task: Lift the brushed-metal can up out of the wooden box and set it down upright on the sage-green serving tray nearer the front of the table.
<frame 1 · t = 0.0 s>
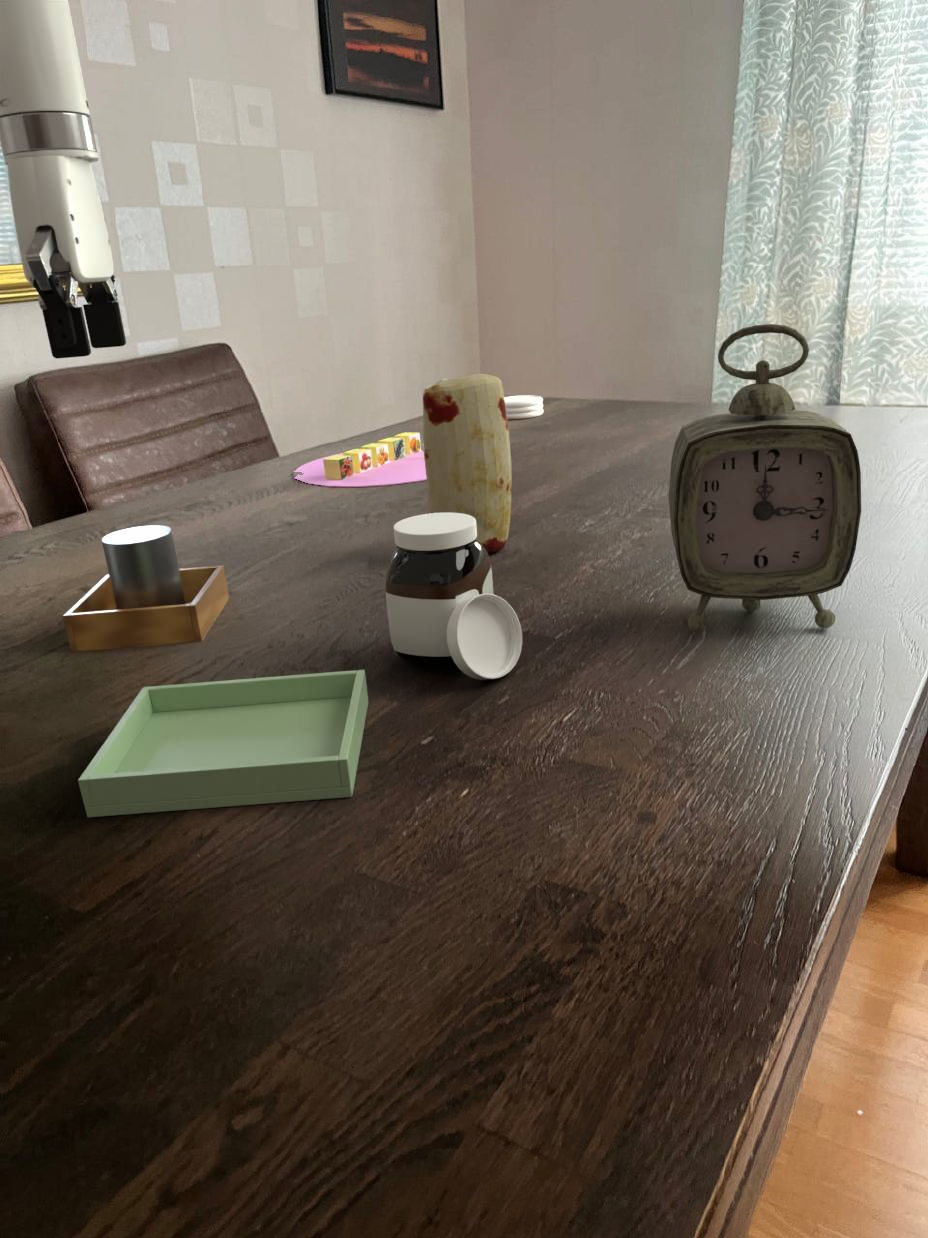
hand: (91, 351, 88), 26 cm above the table, tool pointing down, fingers open, 9 cm apart
platter: (388, 465, 162), on the table
white short ridged cylinder: (519, 416, 200), on the table
food model: (474, 554, 111), on the table
can: (154, 622, 95), point 1 cm above the table, touching wooden box
wooden box: (156, 628, 95), on the table
spread jar: (461, 661, 82), on the table
tray: (241, 754, 69), on the table
tabletop clock: (754, 621, 85), on the table
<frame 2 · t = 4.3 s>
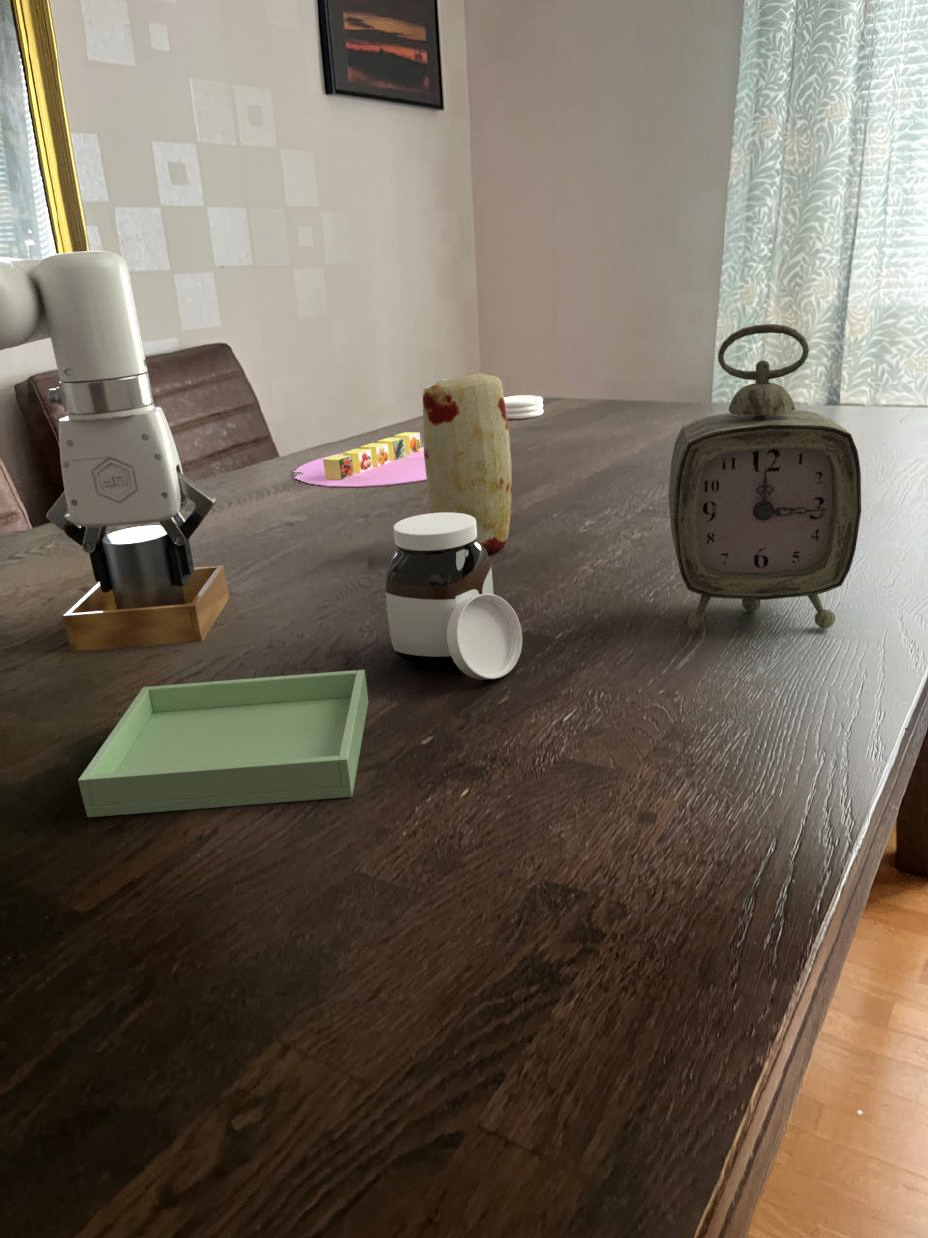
hand: (146, 583, 94), 5 cm above the table, tool pointing down, fingers closed on can, 6 cm apart
can: (154, 622, 95), point 1 cm above the table, touching wooden box, gripper
everything else where it was.
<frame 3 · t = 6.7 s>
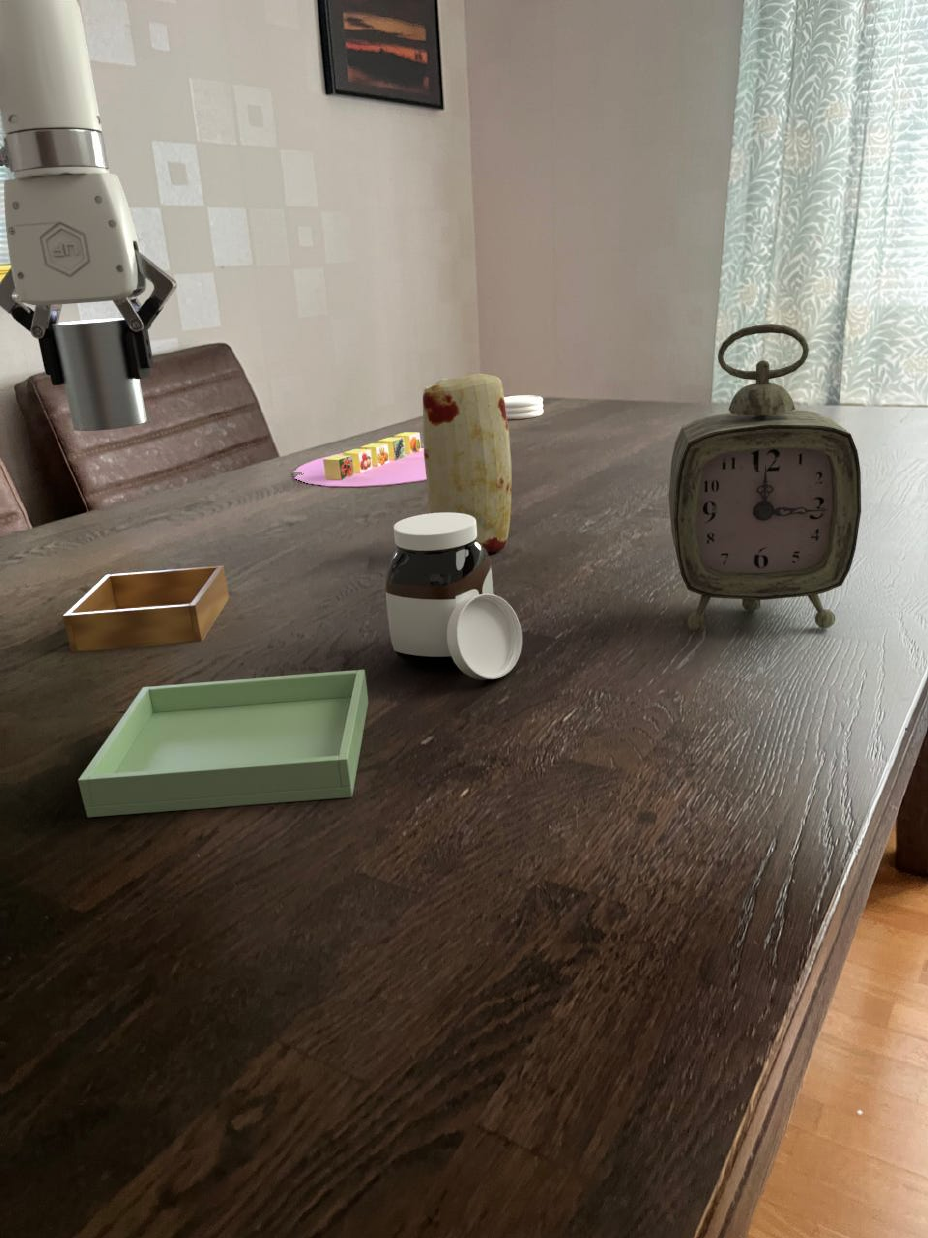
hand: (101, 378, 86), 24 cm above the table, tool pointing down, fingers closed on can, 6 cm apart
can: (110, 424, 88), point 20 cm above the table, touching gripper
everything else where it was.
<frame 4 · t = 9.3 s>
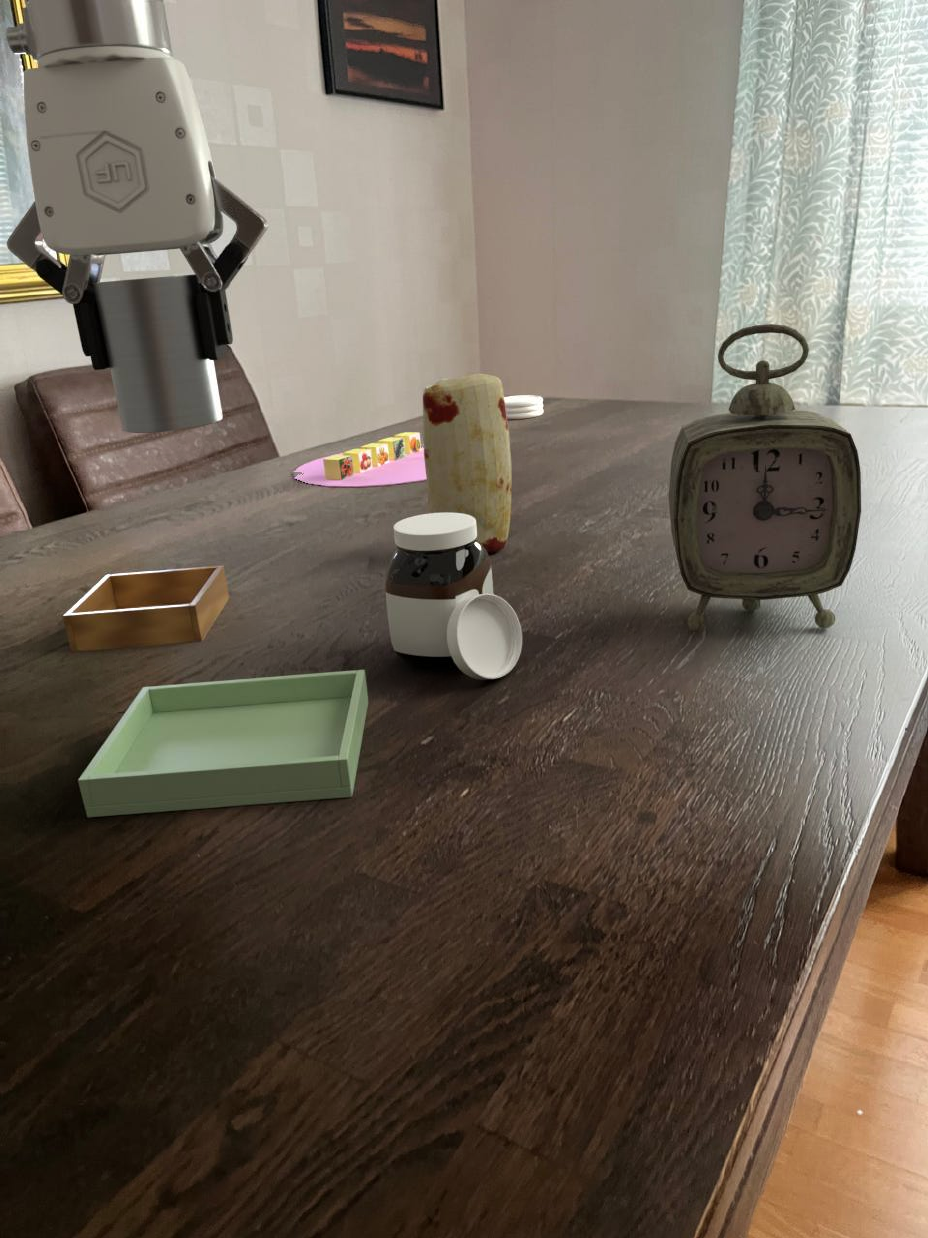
hand: (161, 360, 62), 27 cm above the table, tool pointing down, fingers closed on can, 6 cm apart
can: (173, 423, 63), point 23 cm above the table, touching gripper
everything else where it was.
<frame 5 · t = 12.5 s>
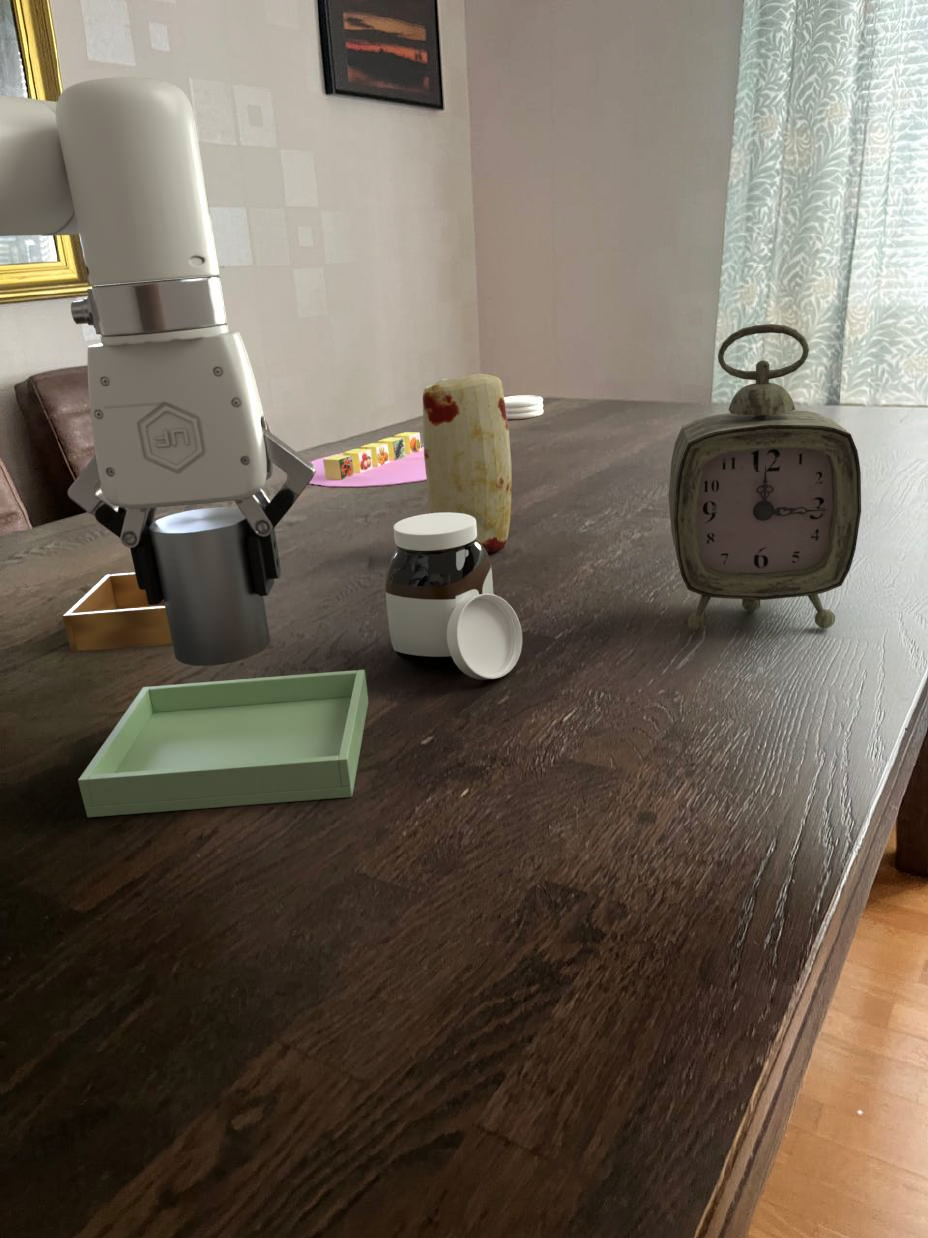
hand: (212, 591, 64), 12 cm above the table, tool pointing down, fingers closed on can, 6 cm apart
can: (223, 647, 66), point 8 cm above the table, touching gripper
everything else where it was.
when the fingers open (5 cm above the table, at t = 14.7 s): can stays where it is, resting on tray.
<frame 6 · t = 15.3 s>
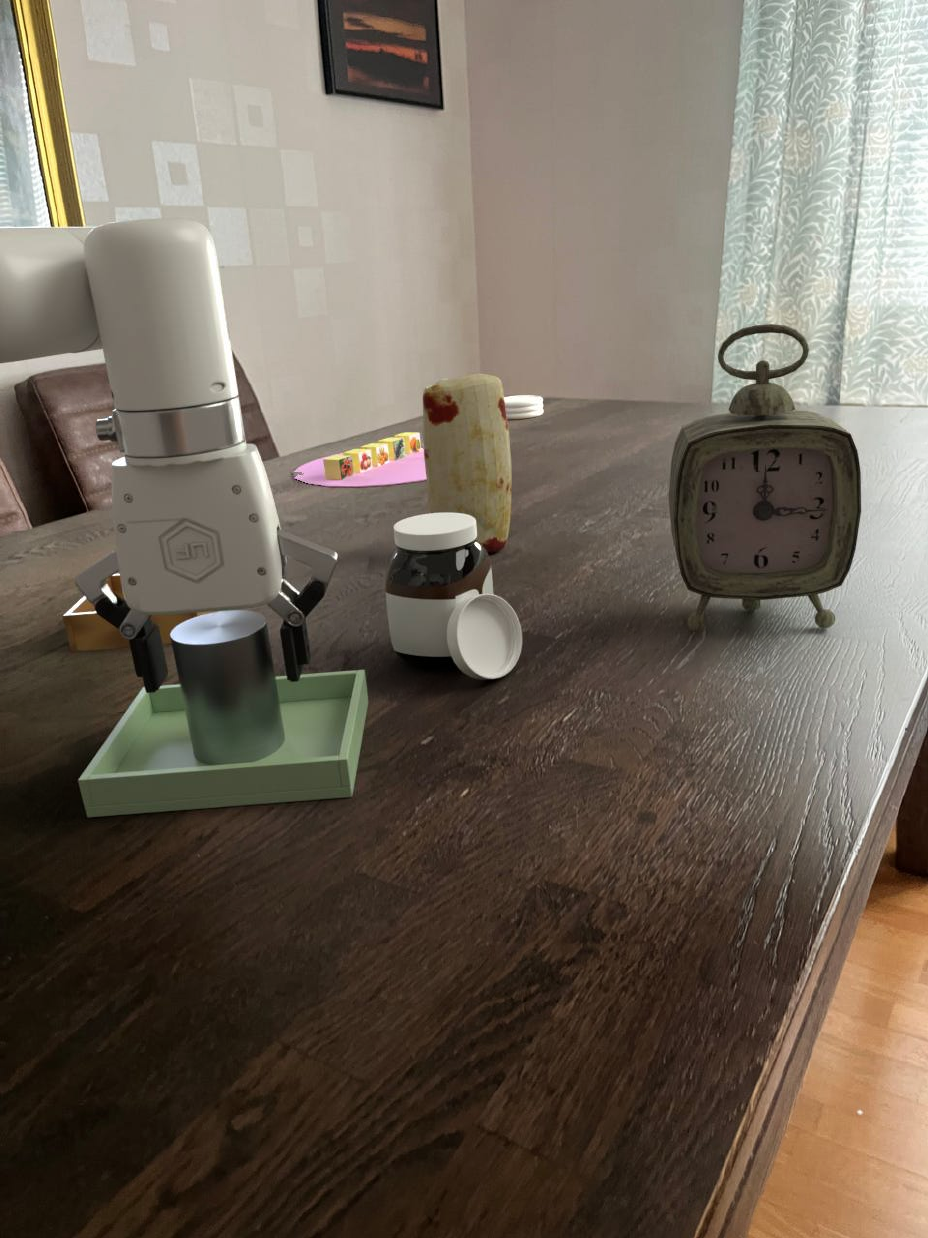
hand: (227, 679, 67), 6 cm above the table, tool pointing down, fingers open, 9 cm apart
can: (239, 744, 69), point 1 cm above the table, touching tray
everything else where it was.
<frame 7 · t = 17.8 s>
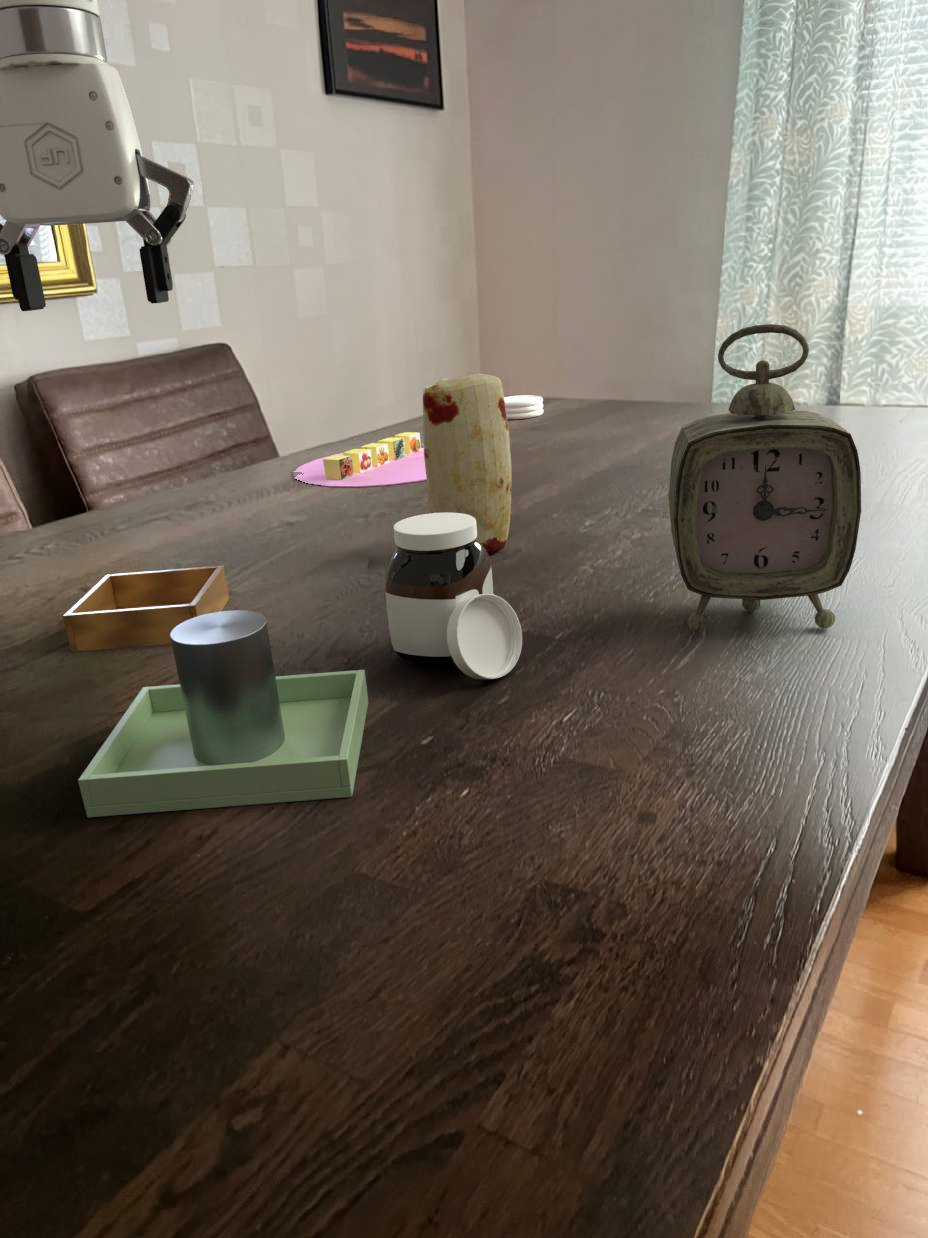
hand: (96, 305, 74), 31 cm above the table, tool pointing down, fingers open, 9 cm apart
nothing on the table moved.
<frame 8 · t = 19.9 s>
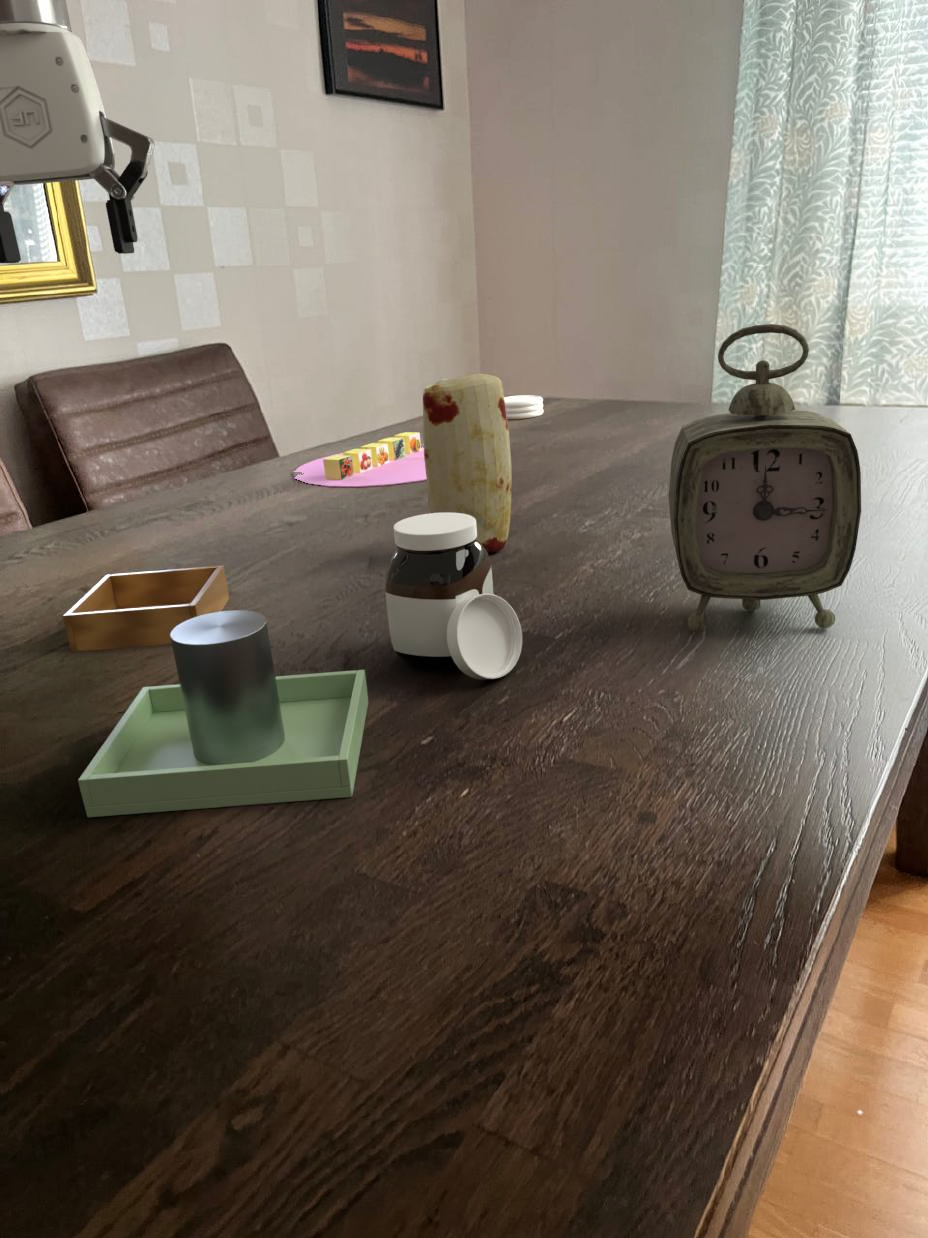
hand: (67, 257, 80), 34 cm above the table, tool pointing down, fingers open, 9 cm apart
nothing on the table moved.
at the end: can inside the target area in the tray (0.0 cm from its centre), point 0.8 cm above the tray's base; can tilted 0°; the gripper is holding nothing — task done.
